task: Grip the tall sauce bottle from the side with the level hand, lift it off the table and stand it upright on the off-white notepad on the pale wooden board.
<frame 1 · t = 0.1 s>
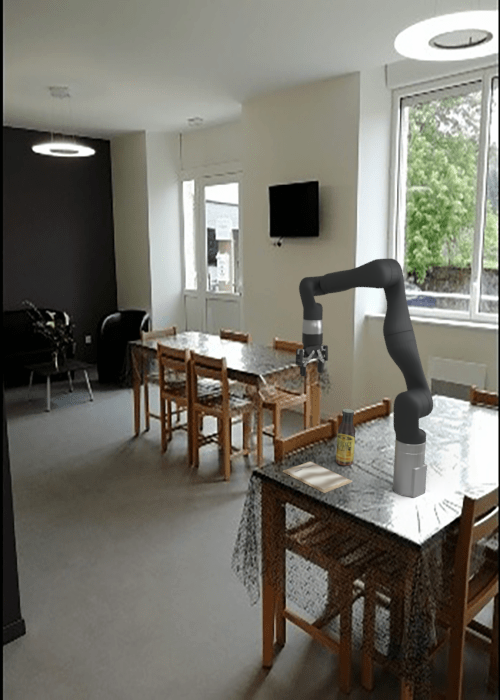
hand: (311, 374, 207), 29 cm above the table, tool pointing down, fingers open, 8 cm apart
sauce bottle: (344, 463, 200), on the table
notepad: (316, 476, 189), on the table
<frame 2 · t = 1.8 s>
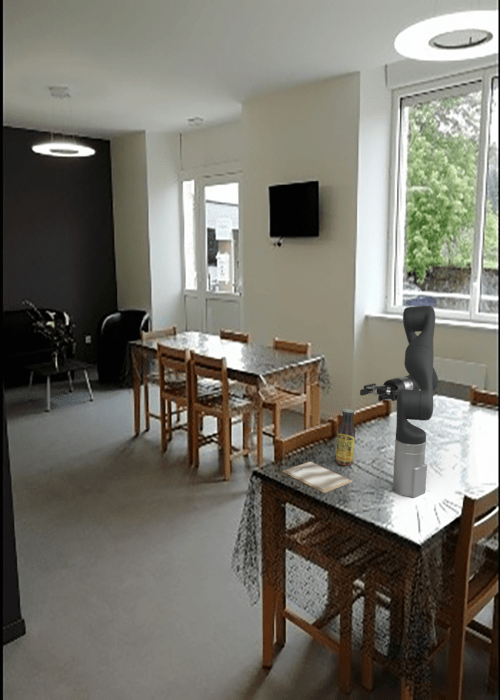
hand: (369, 395, 202), 23 cm above the table, tool horizontal, fingers open, 8 cm apart
nothing on the table moved.
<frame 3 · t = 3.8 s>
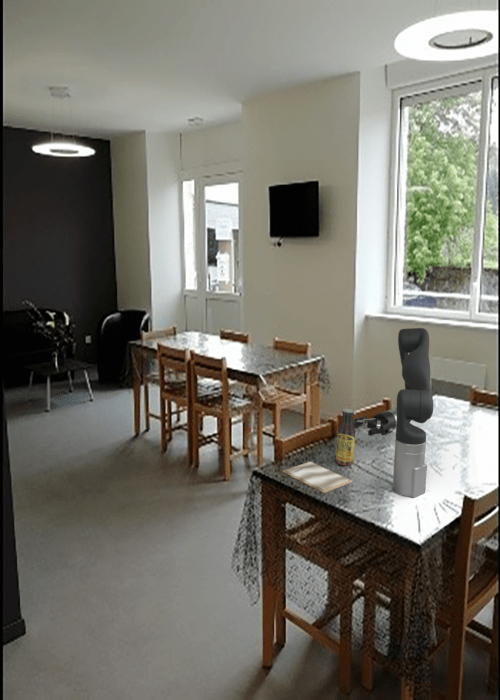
hand: (359, 429, 202), 11 cm above the table, tool horizontal, fingers open, 8 cm apart
nothing on the table moved.
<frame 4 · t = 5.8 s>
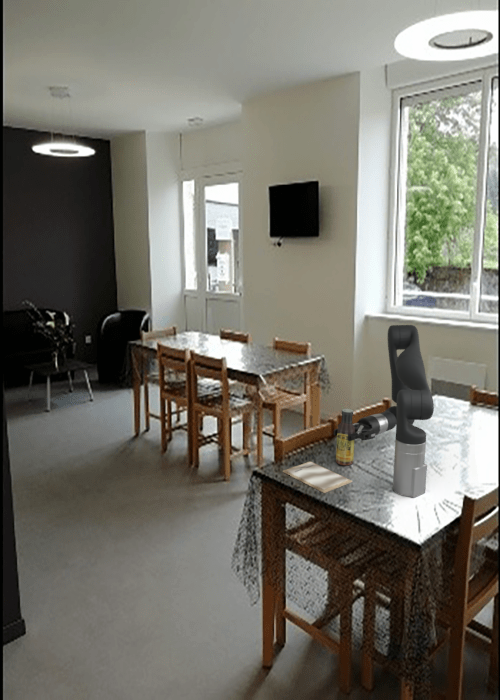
hand: (341, 435, 196), 11 cm above the table, tool horizontal, fingers closed on sauce bottle, 6 cm apart
sauce bottle: (345, 463, 200), on the table, touching gripper
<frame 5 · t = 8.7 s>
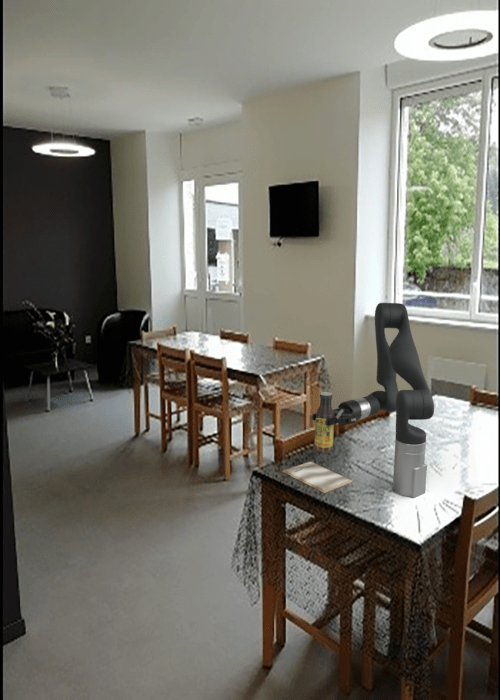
hand: (319, 420, 186), 20 cm above the table, tool horizontal, fingers closed on sauce bottle, 6 cm apart
sauce bottle: (324, 449, 190), point 9 cm above the table, touching gripper
when the fingers open (13 cm above the table, at t = 11.3 s): sauce bottle drops 1 cm, resting on notepad.
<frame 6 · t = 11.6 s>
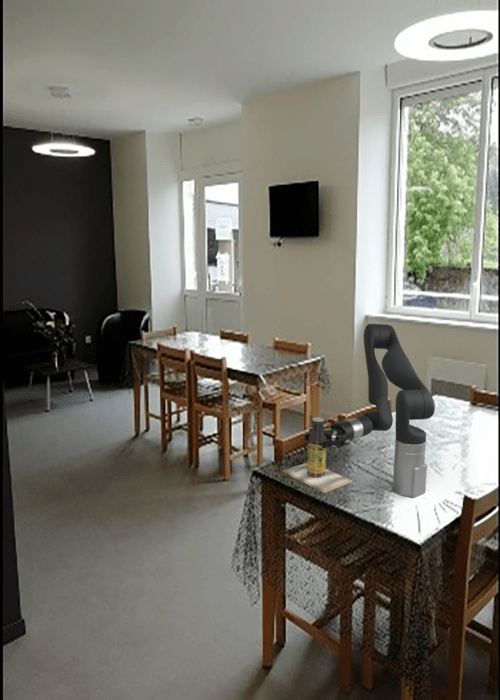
hand: (313, 441, 185), 13 cm above the table, tool horizontal, fingers open, 8 cm apart
sauce bottle: (316, 474, 189), point 1 cm above the table, touching notepad
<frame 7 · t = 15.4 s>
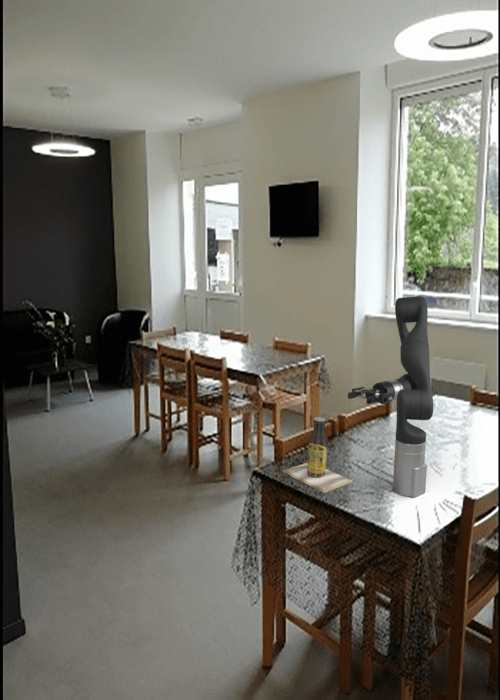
hand: (357, 398, 194), 24 cm above the table, tool horizontal, fingers open, 8 cm apart
nothing on the table moved.
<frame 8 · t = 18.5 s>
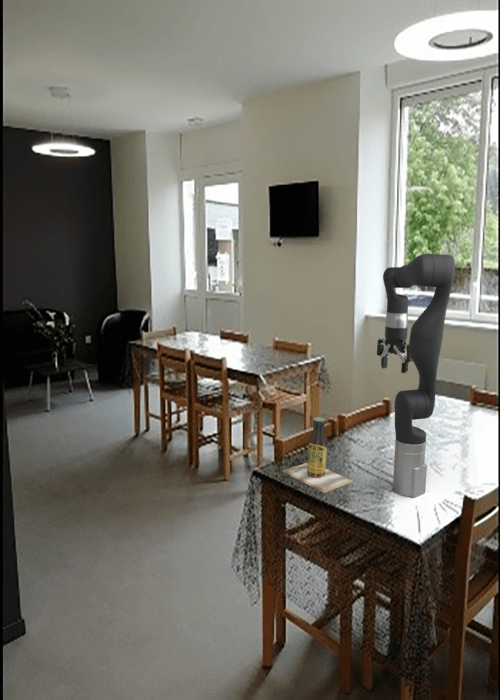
hand: (394, 370, 197), 33 cm above the table, tool pointing down, fingers open, 8 cm apart
nothing on the table moved.
at the end: sauce bottle inside the target area on the notepad (0.3 cm from its centre), point 0.5 cm above the notepad's base; sauce bottle tilted 0°; the gripper is holding nothing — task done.
